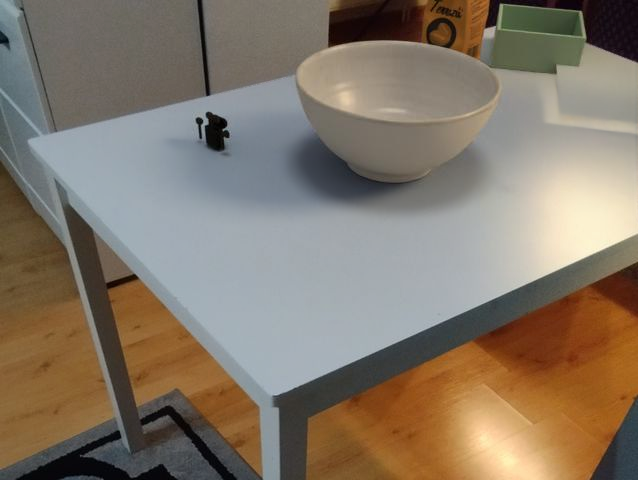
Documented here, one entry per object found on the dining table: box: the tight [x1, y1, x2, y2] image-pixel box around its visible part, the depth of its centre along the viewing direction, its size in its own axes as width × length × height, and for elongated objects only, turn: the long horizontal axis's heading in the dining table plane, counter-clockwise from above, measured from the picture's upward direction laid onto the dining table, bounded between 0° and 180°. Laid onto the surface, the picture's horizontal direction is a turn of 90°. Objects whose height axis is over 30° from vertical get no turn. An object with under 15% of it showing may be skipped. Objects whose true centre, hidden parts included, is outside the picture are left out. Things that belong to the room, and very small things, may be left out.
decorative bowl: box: [294, 39, 503, 184], centre depth 93 cm, size 27×27×12 cm
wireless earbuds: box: [195, 111, 231, 151], centre depth 97 cm, size 7×2×5 cm, turn 48°
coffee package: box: [420, 0, 491, 61], centre depth 114 cm, size 10×12×22 cm
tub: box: [489, 3, 587, 75], centre depth 126 cm, size 15×15×6 cm
